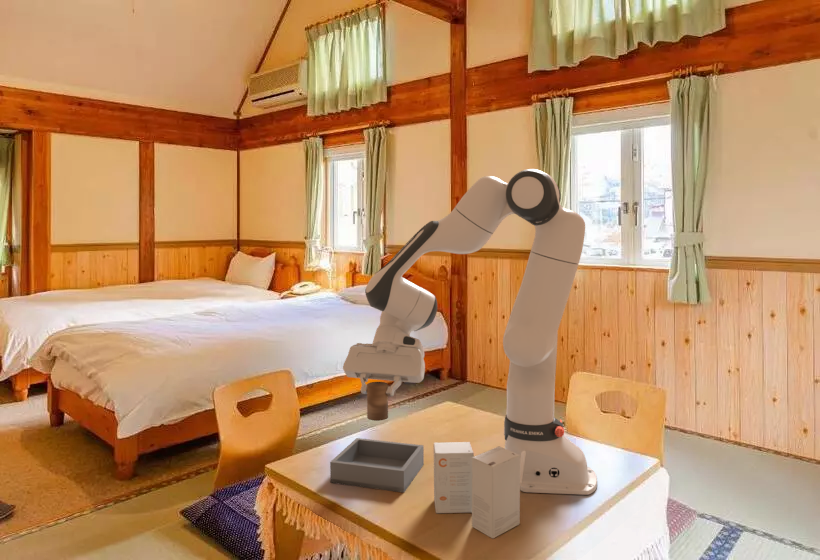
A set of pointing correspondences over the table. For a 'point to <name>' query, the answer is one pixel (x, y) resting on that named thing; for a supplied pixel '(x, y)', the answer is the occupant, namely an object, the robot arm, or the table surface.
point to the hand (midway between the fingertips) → (376, 393)
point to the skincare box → (495, 491)
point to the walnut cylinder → (377, 401)
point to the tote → (377, 464)
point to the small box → (453, 477)
